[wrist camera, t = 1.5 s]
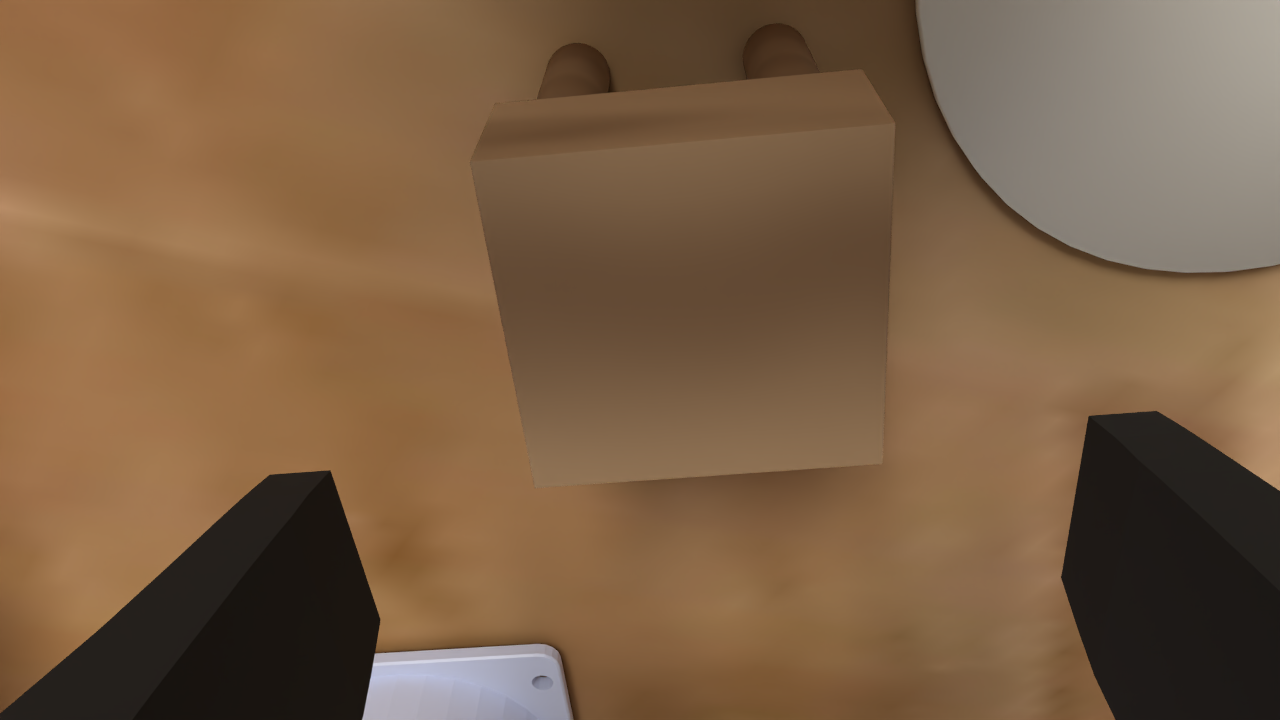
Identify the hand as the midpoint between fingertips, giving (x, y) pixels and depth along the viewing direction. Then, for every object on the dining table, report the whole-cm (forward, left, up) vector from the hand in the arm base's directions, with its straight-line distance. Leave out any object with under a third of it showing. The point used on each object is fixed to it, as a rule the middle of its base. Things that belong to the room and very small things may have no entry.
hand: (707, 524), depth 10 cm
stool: (0, 0, -10) cm, 10 cm away
